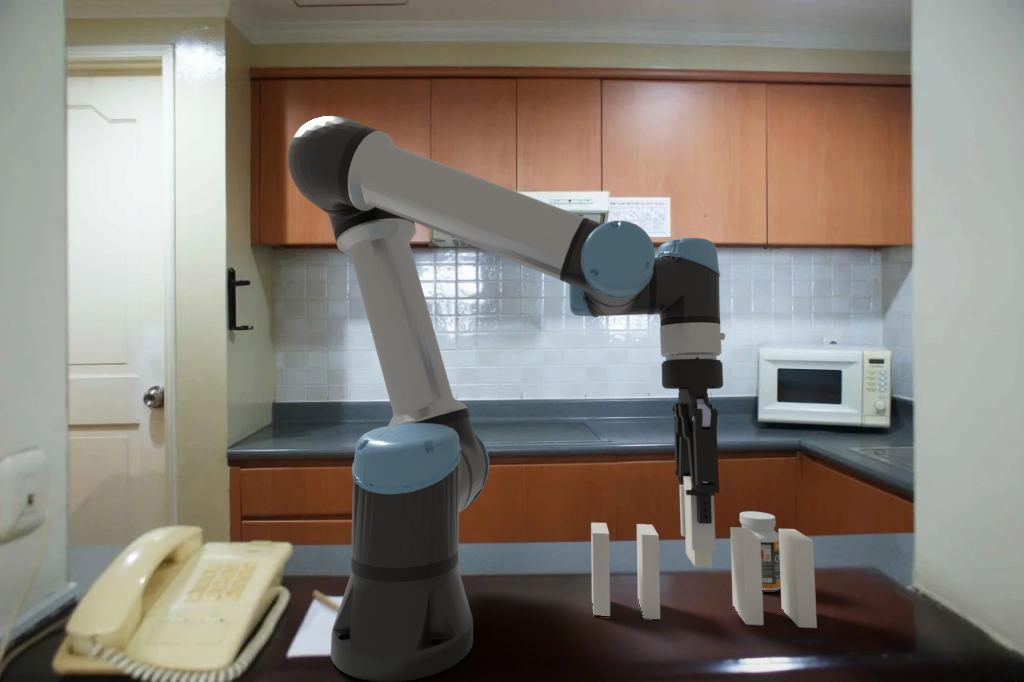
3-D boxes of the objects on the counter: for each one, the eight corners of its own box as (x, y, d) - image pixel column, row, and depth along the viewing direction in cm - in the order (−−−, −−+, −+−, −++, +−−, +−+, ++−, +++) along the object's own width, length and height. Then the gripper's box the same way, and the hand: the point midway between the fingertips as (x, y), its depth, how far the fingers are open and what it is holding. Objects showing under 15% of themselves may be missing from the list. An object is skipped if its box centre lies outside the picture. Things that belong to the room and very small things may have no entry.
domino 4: (746, 624, 62) (743, 538, 63) (732, 606, 67) (730, 527, 68) (763, 625, 62) (760, 538, 62) (748, 607, 67) (746, 527, 67)
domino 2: (643, 619, 63) (641, 534, 64) (637, 602, 68) (636, 523, 69) (660, 619, 63) (658, 535, 64) (653, 602, 68) (652, 524, 69)
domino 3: (695, 567, 63) (692, 483, 64) (685, 553, 68) (683, 476, 69) (712, 567, 63) (709, 483, 64) (701, 554, 68) (698, 476, 69)
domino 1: (593, 616, 64) (592, 533, 65) (591, 599, 69) (591, 522, 70) (610, 617, 64) (609, 533, 64) (607, 600, 68) (606, 523, 69)
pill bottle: (788, 596, 70) (785, 521, 71) (743, 592, 71) (740, 518, 72) (775, 580, 76) (773, 511, 77) (734, 577, 77) (732, 509, 78)
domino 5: (798, 627, 61) (795, 539, 62) (781, 609, 66) (778, 528, 67) (816, 628, 61) (812, 540, 62) (798, 609, 66) (794, 529, 67)
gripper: (744, 354, 58) (753, 568, 56) (703, 361, 76) (708, 524, 74) (675, 354, 59) (682, 565, 57) (650, 362, 77) (655, 522, 75)
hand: (697, 541), depth 66 cm, fingers closed on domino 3, 5 cm apart
